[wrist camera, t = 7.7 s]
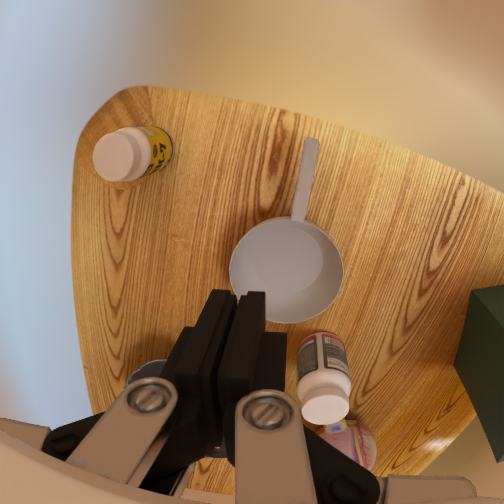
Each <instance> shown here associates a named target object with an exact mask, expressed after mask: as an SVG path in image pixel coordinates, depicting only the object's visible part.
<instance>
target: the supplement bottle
mask: <svg viewBox="0 0 504 504" xmlns="http://www.w3.org/2000/svg"><path fill="white" fill-rule="evenodd" d="M173 155H174V142H173V139H172V137H171V136H170V134H169V133H168V132H167V131H165V130H164V129H162V128H159V127H125V128H121V129H119V130H117V131H115V132H114V133H109V134H106V135H104V136H103V137H102V138H100V140H99V141H98V142H97V144H96V145H95V148H94V152H93V163H94V167H95V169H96V171H97V173H98V174H99V175H100V176H101V177H102V178H103V179H105V180H107V181H111V182H116V181H133V180H137V179H139V178H142V177H145V176H148V175H151V174H153V173H156V172H159V171H161V170H163V169H165V168H166V167H167V166H168V165H169V164H170V162H171V160H172V158H173Z"/></svg>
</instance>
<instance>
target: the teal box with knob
mask: <svg viewBox="0 0 504 504" xmlns="http://www.w3.org/2000/svg"><path fill="white" fill-rule="evenodd" d="M454 367H455V369H456V371H457V373H458V375H459V377H460V379H461V381H462V383H463V385H464V387H465V389H466V391H467V394H468V396H469V398H470V400H471V402H472V404H473V406H474V409H475V411H476V413H477V415H478V418H479V420H480V422H481V424H482V427H483V429H484V431H485V434H486V436H487V439H488V441H489V444H490V446H491V449H492V451H493V454H494V457H495V459H496V462H497V463H499V462H501V461H504V285H501V286H495V287H489V288H483V289H476V290H472V291H471V296H470V302H469V307H468V311H467V316H466V321H465V325H464V329H463V333H462V337H461V341H460V345H459V349H458V352H457V356H456V359H455V363H454Z"/></svg>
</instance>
